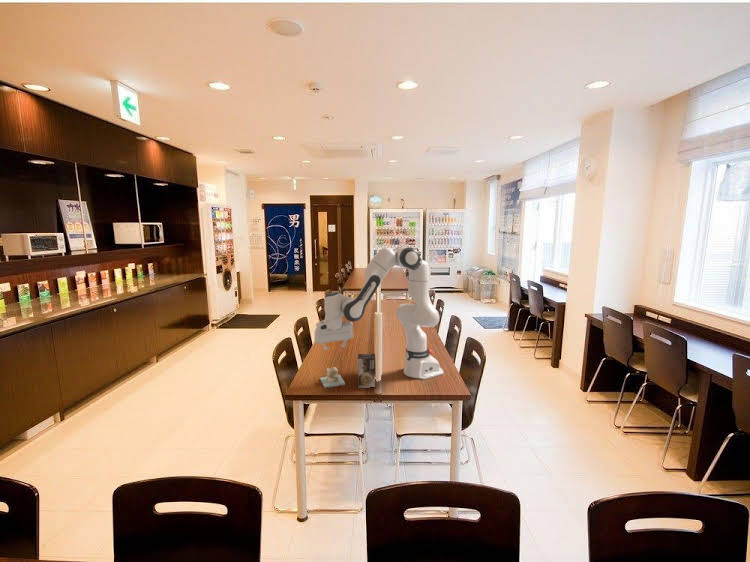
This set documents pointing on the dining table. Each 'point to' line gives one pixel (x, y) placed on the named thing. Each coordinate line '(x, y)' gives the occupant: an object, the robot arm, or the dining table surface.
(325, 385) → the tile
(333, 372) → the ash block
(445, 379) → the dining table surface
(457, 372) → the dining table surface
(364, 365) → the coffee box
